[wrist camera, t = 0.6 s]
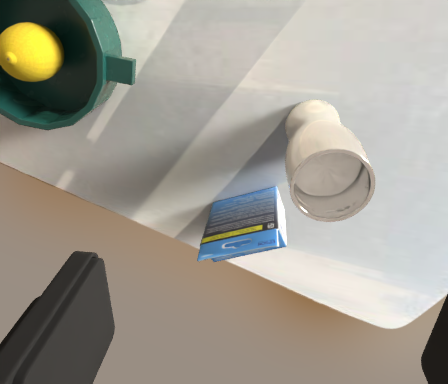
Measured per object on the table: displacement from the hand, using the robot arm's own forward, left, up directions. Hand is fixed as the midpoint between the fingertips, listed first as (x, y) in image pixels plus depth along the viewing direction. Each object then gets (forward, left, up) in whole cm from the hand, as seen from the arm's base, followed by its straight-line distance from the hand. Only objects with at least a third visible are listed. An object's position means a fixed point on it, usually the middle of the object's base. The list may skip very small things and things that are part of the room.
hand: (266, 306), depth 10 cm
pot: (+2, -24, -34) cm, 41 cm away
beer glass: (+5, +6, -34) cm, 35 cm away
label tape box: (+17, +1, -34) cm, 38 cm away
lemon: (+2, -24, -34) cm, 41 cm away
